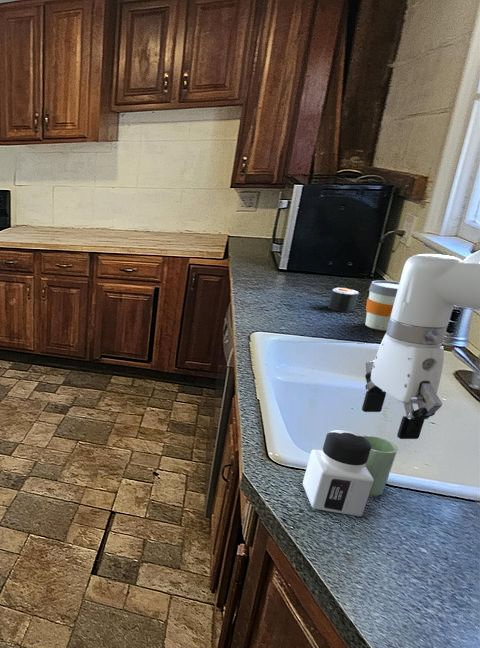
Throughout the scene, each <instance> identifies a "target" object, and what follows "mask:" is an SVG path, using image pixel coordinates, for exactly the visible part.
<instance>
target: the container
mask: <svg viewBox="0 0 480 648" xmlns="http://www.w3.org/2000/svg"><path fill="white" fill-rule="evenodd" d="M362 436H363V435H360V434H359V433H356V432H353V431H350V430H341V429H336V430H331V431H329V432H328V433H327V434H326V435H325V440H324V442H323V446H322V450H321V449H312V450H311V451H310V454H309V458H308V462H307V466H306V469H305V473H304V477H303V480H302V487H303V488H304V491H305V494H306V496H307V499H308V501H309V504H310V506H311V508H312V509H313V510H319V511H325V512H329V513H335V514H343V515H349V516H354V517H359V518H360V517H363V515H364V512H365V508H366V505H367V503H368V500H369V497H370V495H369V494H370V491H371V488H372V485H373V482H374V479H373V477H372V476H371V474H370V473H369V471H368V469H367V468H366V463H367V460H368V457H369V454H370V451H371V448H372V446H371V444H370V442H369V441H368V440H367V439H366V438H364V437H362Z"/></svg>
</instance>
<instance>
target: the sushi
mask: <svg viewBox="0 0 480 648" xmlns="http://www.w3.org/2000/svg"><path fill="white" fill-rule="evenodd" d="M359 294H360V292H359V291H358V290H355V289H350V288H346V287H340V286H339V287H335V288H332V290H331V295H330V298H329V303H328V306H327V308H328V309H330V310H333V311H335V312H340V313H351V312H354V310H355V307H356V303H357V299H358V296H359Z"/></svg>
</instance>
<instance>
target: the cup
mask: <svg viewBox="0 0 480 648" xmlns="http://www.w3.org/2000/svg"><path fill="white" fill-rule="evenodd" d="M361 436H362V437H364V438H366V439H367V440H368V441H369V442H370V444H371V446H372V448H371V451H370V454H369V457H368V460H367V463H366V468H367V469H368V471H369V473H370V474H371V476H372V477H373V479H374V482H373V485H372V488H371V491H370V494H369V496H375V497H376V496H381V495H382V494H383V493H384V490H385V488H386V485H387V482H388V479H389V477H390V473H391V471H392V469H393V465H394V461H395V459H396V457H397V454H398V451H399V448H398V446H397V445H395V444H394V443H393V442H391V441H390V440H387V439H386V438H383V437H379V436H375V435H368V434H367V435H364V434H363V435H361Z"/></svg>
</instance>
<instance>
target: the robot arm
mask: <svg viewBox="0 0 480 648" xmlns="http://www.w3.org/2000/svg"><path fill="white" fill-rule="evenodd" d="M399 282H400V283H399V286H398V290H397V294H396V298H395V301H394V305H393V309H392V313H391V316H390V320H389V324H388V327H387V331H386V330H385V333H384V336H383V338H382V340H381V343H380V345H379V347H378V349H377V352H376V356H375V357H374V360H370V361H366V362H365V373H366V374H365V375H364V378H365V381H366V384H365V387H364V388H365V390H366V392H365V395H364V399H363V403H362V406H361V411H362V412H363V413H381V412H382V411H383V406H384V402H385V399H386V395H387V394H388V395H389V396H391V397H392V398H394V399H395V400H397V401H399V402H401V403H402V404H403V406H404V411H405V415H403V416H402V418H401V421H400V424H399V428H398V430H397V434H396V436H397V438H398V439H400V440H417V439H420V435H421V432H422V429H423V425H424V422H425V420H428V419H429V418H430V417H432V416H435V414H436V412H438V410H439V409H440V408H442V406H443V402H442V401H441V399H440V397H439V396H438V393H437V392H438V390H439V386H440V383H441V379H442V373H443V367H444V359H445V347H444V346H442V345H443V342H444V340H445V336H446V332H447V329H448V325H449V323H450V320H451V316H452V313H453V310H454V307H455V306H456V307H461V308H464V309H465V308H466V309H470V310H474V311H479V312H480V249H479V250H477V251H475V252H473V253H472V254H469V255H468V256H467V257H465V258H464V259H463V260H462V259H461V258H459V257H455V256H450V255H445V254H434V253H423V254H414V255H412V256H410V257H408V258H407V259H406V261H405V263H404V265H403V268H402V272H401V276H400V279H399ZM415 398H416V399H415ZM414 405H417V408H418V409H415V408H414Z"/></svg>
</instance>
